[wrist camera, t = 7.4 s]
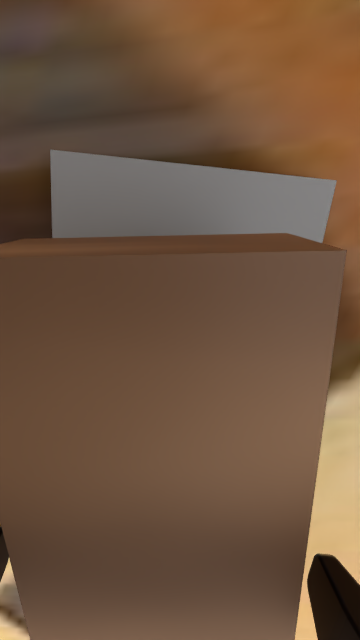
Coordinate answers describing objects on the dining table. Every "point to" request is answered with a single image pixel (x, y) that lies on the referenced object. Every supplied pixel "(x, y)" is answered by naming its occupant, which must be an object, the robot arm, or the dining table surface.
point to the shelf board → (163, 430)
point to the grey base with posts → (180, 199)
